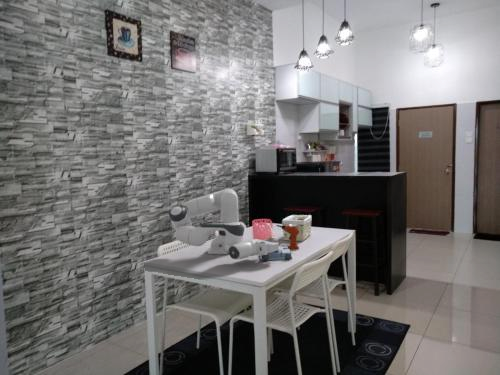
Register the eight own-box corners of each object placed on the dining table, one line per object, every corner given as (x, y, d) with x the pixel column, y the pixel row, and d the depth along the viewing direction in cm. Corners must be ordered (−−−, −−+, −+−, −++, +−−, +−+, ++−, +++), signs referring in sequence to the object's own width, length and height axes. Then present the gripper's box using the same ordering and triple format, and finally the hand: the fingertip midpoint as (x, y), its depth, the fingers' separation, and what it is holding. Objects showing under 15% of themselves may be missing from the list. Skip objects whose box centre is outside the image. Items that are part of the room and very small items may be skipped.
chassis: (261, 261, 218) (260, 255, 218) (259, 254, 232) (259, 248, 232) (292, 259, 219) (292, 253, 218) (289, 253, 233) (289, 247, 232)
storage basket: (291, 233, 288) (290, 214, 286) (313, 234, 282) (312, 214, 280) (281, 241, 266) (281, 220, 264) (304, 242, 259) (304, 220, 258)
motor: (268, 256, 223) (267, 238, 222) (267, 254, 227) (267, 236, 227) (276, 256, 223) (276, 237, 222) (275, 254, 228) (275, 235, 227)
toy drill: (278, 242, 256) (279, 220, 253) (300, 250, 242) (302, 227, 240) (273, 243, 252) (274, 221, 250) (295, 251, 239) (297, 228, 236)
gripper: (242, 249, 224) (260, 245, 233) (267, 255, 208) (285, 250, 218) (242, 238, 223) (259, 234, 232) (267, 244, 208) (284, 239, 217)
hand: (272, 242), depth 225 cm, fingers open, 8 cm apart
